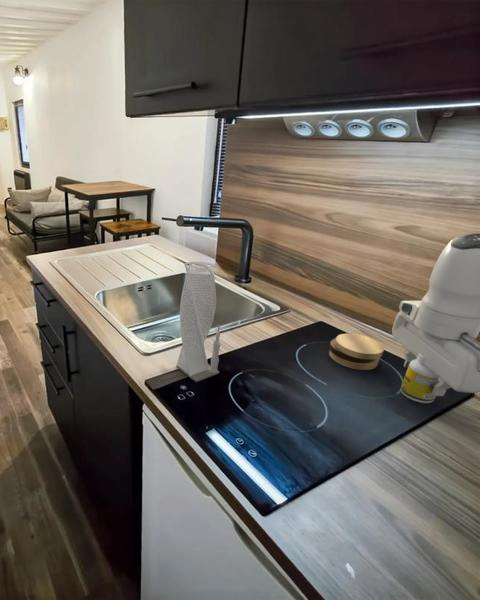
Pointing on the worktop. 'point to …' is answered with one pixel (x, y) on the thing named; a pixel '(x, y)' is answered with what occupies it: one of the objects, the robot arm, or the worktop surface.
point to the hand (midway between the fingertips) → (422, 380)
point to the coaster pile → (356, 351)
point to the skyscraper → (198, 321)
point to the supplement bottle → (419, 381)
